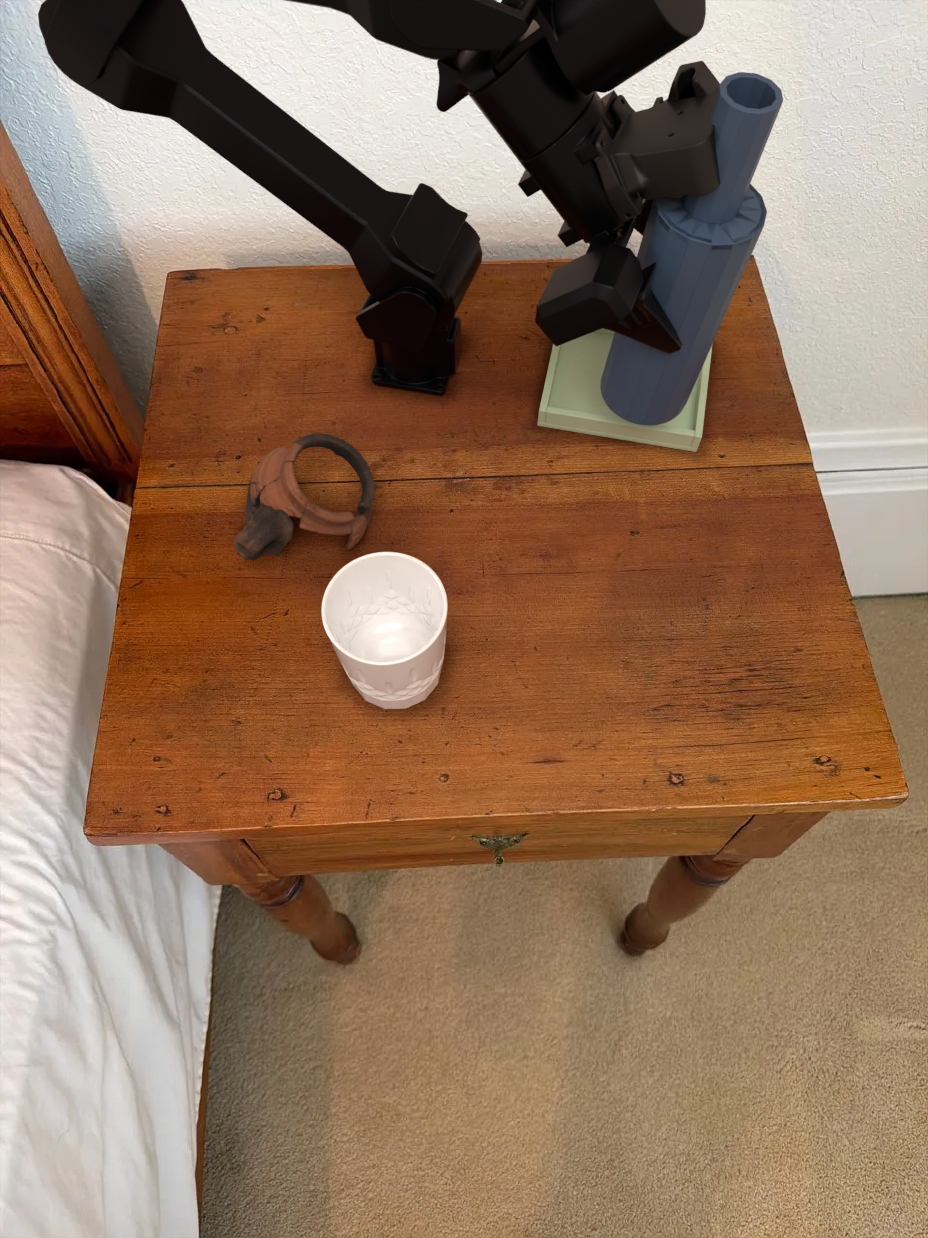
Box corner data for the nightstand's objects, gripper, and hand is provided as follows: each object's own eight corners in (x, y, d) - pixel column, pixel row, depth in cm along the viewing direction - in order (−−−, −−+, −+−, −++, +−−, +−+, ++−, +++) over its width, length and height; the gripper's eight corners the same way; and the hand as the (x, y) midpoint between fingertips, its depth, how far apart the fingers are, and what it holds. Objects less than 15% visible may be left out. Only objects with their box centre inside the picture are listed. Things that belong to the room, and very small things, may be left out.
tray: (537, 425, 73) (538, 410, 72) (558, 325, 78) (560, 308, 76) (696, 452, 72) (702, 437, 70) (708, 348, 77) (713, 332, 75)
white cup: (437, 728, 62) (432, 675, 53) (329, 706, 63) (306, 651, 54) (460, 628, 65) (458, 562, 56) (357, 609, 66) (339, 541, 57)
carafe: (630, 437, 67) (736, 147, 45) (583, 374, 69) (664, 70, 48) (703, 407, 68) (839, 114, 47) (655, 346, 71) (764, 40, 49)
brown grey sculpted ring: (278, 454, 73) (316, 399, 66) (364, 532, 74) (409, 485, 68) (184, 543, 66) (216, 491, 59) (282, 627, 67) (324, 585, 61)
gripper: (617, 162, 43) (767, 380, 51) (711, -46, 50) (829, 174, 59) (464, 249, 51) (615, 425, 60) (564, 59, 59) (686, 239, 67)
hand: (689, 312), depth 61 cm, fingers closed on carafe, 7 cm apart
